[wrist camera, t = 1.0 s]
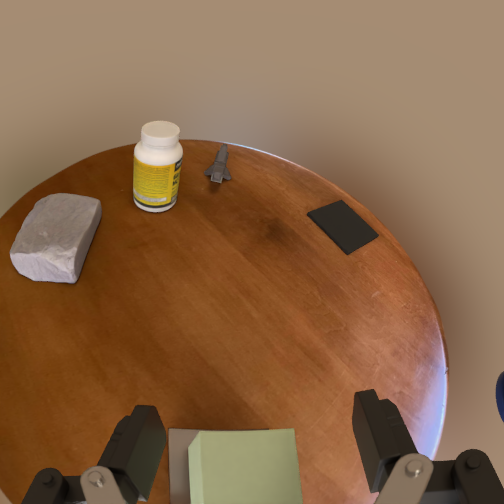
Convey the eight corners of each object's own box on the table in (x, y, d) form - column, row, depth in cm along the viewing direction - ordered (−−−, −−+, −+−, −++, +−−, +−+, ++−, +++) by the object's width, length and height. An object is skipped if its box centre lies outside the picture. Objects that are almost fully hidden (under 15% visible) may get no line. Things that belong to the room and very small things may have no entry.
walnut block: (263, 513, 20) (278, 518, 18) (170, 516, 19) (171, 523, 16) (256, 435, 26) (269, 428, 23) (168, 434, 24) (168, 427, 21)
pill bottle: (179, 213, 42) (189, 142, 34) (133, 214, 40) (134, 141, 32) (174, 185, 45) (184, 118, 37) (133, 185, 43) (136, 117, 35)
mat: (377, 237, 50) (379, 235, 49) (347, 255, 45) (348, 253, 44) (340, 201, 53) (341, 199, 53) (306, 214, 48) (307, 212, 48)
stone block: (15, 285, 30) (82, 288, 30) (-3, 258, 26) (66, 258, 27) (48, 218, 38) (109, 215, 39) (37, 191, 34) (100, 185, 35)
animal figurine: (209, 159, 54) (215, 132, 51) (234, 164, 55) (240, 138, 52) (198, 188, 45) (204, 156, 42) (228, 195, 45) (236, 163, 42)
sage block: (257, 503, 18) (304, 512, 12) (191, 506, 17) (204, 522, 10) (252, 446, 21) (294, 427, 15) (188, 446, 20) (199, 430, 14)
